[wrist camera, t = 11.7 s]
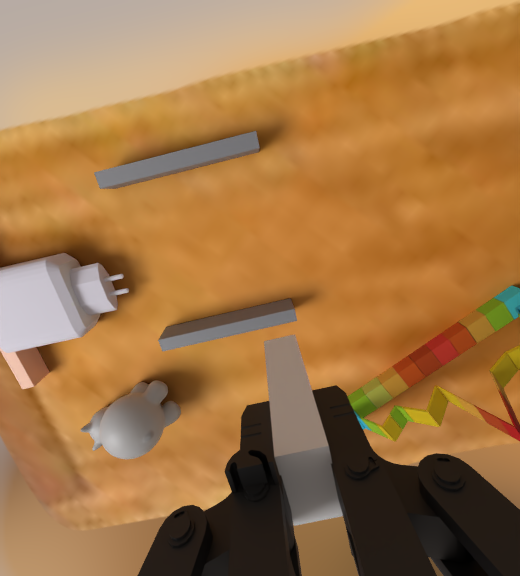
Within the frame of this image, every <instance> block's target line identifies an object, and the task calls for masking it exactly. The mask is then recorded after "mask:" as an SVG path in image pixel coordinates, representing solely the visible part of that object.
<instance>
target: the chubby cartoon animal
mask: <svg viewBox="0 0 520 576" xmlns="http://www.w3.org/2000/svg"><path fill="white" fill-rule="evenodd" d="M167 394H168V387H167V385H166V384H165V383H163V382H161V381H158V380H155V381H153V382H151V383H150V384H147V383H145V382H140V383H138V384H137V385H136V386H135V387H134V388H133V389H132V391H131V393H130V394H128V395H125V396H123V397H121V398H119V399H117V400H116V401H114V402H113V403H112V404H111V405H110V406H109V407H104V408H102V409H101V410H99V411H98V412H96V413H95V414H94V416H93V417H92V419H91V421H90V423H88V424H87V425H86V426H84V427H83V428H82V429H81V431H82V432H89V433H90V435H91V437H92V438H93V439H94V441H95V443H94V446H93V451H94V450H96V449H98V448H99V447H100V446H102V445H103V447H104V448H105V449H106V451H107V452H109V453H110V454H111V455H113V456H115V457H117V458H121V459H133V458H137V457H140V456H142V455H144V454H146V453H147V452H149V451H150V450H151V449H152V448H153V447H154V446H155V445H156V444H157V442H158V441H159V439H160V437H161V435H162V433H163V429H164V428H165V427H166V426H168V425H170V424H172V423H173V422H175V421H176V420H177V419H178V418H179V416H180V414H181V409H180V407H179V406H178V404H176V403H175V402H173V401H168V402H166V403H165V404H164V405H163V406H162V405H161V404H160V403H161V402H162V400H163V399H164V398H165V397H166V395H167Z"/></svg>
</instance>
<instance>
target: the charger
mask: <svg viewBox="0 0 520 576" xmlns="http://www.w3.org/2000/svg"><path fill="white" fill-rule="evenodd" d="M123 277H124V275H123V274H118V275H114V276H109V274H108V273H107V271H106V270H105V269H104V267H103V266H102V265H101V264H99V263H95V264H91V265H87V266H82V267H81V266H80V264H79V262H78V261H77V260H76V259H75V258H73V257H71V256H70V255H68V254H66V253H61V254H57V255H53V256H48V257H44V258H40V259H36V260H31V261H27V262H23V263H18V264H14V265H10V266H6V267H1V268H0V348H1V349H2V350H3V351H4V352H6V353H11V352H16V351H20V350H25V349H29V348H34V347H38V346H43V345H47V344H52V343H56V342H61V341H65V340H70V339H74V338H79V337H83V336H84V335H85V334H86V333H87V332H88V331H90V330H91V329H92V328H93V327H94V326H95V325H96V323H97V321H98V319H99V317H100V313H105V312H109V311H114V310H117V307H118V303H117V296H116V295H119V294H124V293H128V292H129V289H128V288H125V289H120V290H116V291H115V289H114V286H113V284H112V281H113V280H118V279H122V278H123Z"/></svg>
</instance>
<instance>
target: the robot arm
mask: <svg viewBox="0 0 520 576" xmlns="http://www.w3.org/2000/svg"><path fill="white" fill-rule="evenodd" d="M264 346H265V357H266V368H267V380H268V391H269V401H266V402H262V403H257V404H252V405H248V406H247V407H246V409H245V411H244V412H243V414H242V417H241V442H240V450H239V451H238V452H237V453H235V454H234V455H233V456H232V457H231V459H230V460H229V461H228V463H227V466H226V469H225V474H226V477H227V479H228V482H229V485H230V488H231V490H232V493H231V494H230V495H229V496H228V497H227V498H226V499H224V500H223V501H221V502H220V503H218V504H217V505H215V506H213V507H211V508H209V509H208V510H206V511H204V512H203V510H202V509H201V508H200V507H197V506H194V505H189V506H183V507H181V508H179V509H177V510H176V511H174V512H173V513H172V514H171V515H170V516H169V517H167V519H166V520H165V521H164V523H163V524H162V526H161V527H160V529H159V531H158V533H157V536H156V537H155V540H154V542H153V544H152V546H151V548H150V551H149V553H148V555H147V557H146V559H145V561H144V563H143V565H142V568H141V570H140V572H139V574H138V576H302V574H301V567H300V560H299V552H298V546H297V543H296V539H295V536H294V528H293V524H294V525H300V524H305V523H310V522H315V521H320V520H325V519H330V518H335V517H340V516H343V518H344V521H345V524H346V529H347V534H348V539H349V543H350V548H351V553H352V555H353V557H354V560H355V564H356V567H357V571H358V574H359V576H437V575H436V573H435V571H434V569H433V567H432V565H431V563H430V560H429V558H428V557H431V559H432V560H433V562H434V563H435V564H436V566H437V567H438V568H439V570H440V571H441V573H442V574H443V575H444V576H520V510H519V509H518V508H517V507H516V506H515V505H514V504H513V503H511V502H510V501H509V500H508V499H507V498H506V497H504V496H503V495H502V494H501V493H500V492H499V491H498V490H497V489H496V488H494V487H493V486H492V485H491V484H490V483H489V482H488V481H486V480H485V479H484V478H483V477H482V476H481V475H480V474H478V473H477V472H476V471H475V470H474V469H473V468H472V467H470V466H469V465H468V464H466V463H465V462H464V461H462V460H460V459H459V458H456V457H453V456H451V455H448V454H432V455H428V456H426V457H425V458H424V459H422V460H421V461H420V463H419V466H418V467H417V466H407V465H399V464H394V463H391V462H388V461H386V460H384V459H383V458H381V457H379V456H378V455H377V454H376V453H375V452H374V451H373V449H372V448H371V446H370V444H369V442H368V440H367V438H366V436H365V433H364V431H363V429H362V427H361V425H360V423H359V421H358V418H357V416H356V414H355V412H354V410H353V408H352V406H351V404H350V401H349V399H348V397H347V395H346V393H345V392H344V391H343V390H341V389H340V388H339V387H338V386H331V387H327V388H322V389H317V390H313V391H312V389H311V386H310V383H309V379H308V376H307V373H306V369H305V366H304V363H303V360H302V356H301V353H300V350H299V346H298V343H297V340H296V336H295V335H290V336H286V337H281V338H277V339H273V340H268V341H264Z"/></svg>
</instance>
